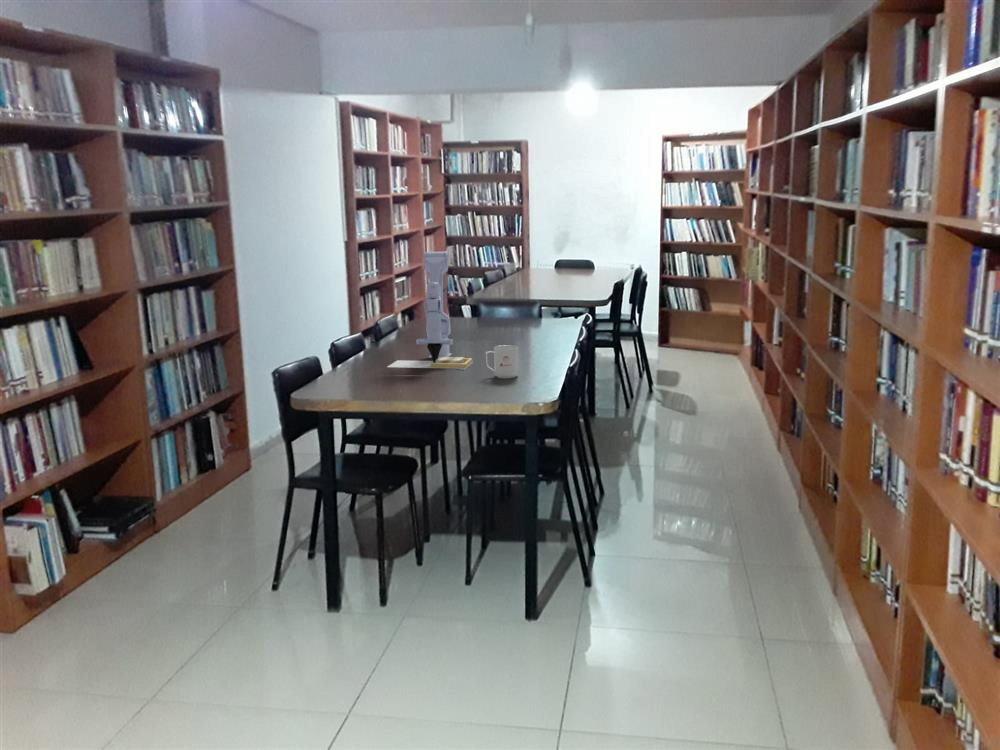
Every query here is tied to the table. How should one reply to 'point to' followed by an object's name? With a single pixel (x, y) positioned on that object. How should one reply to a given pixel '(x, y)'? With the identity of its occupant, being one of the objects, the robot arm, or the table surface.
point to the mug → (505, 361)
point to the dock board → (431, 364)
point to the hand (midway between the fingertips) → (435, 362)
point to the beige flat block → (450, 360)
